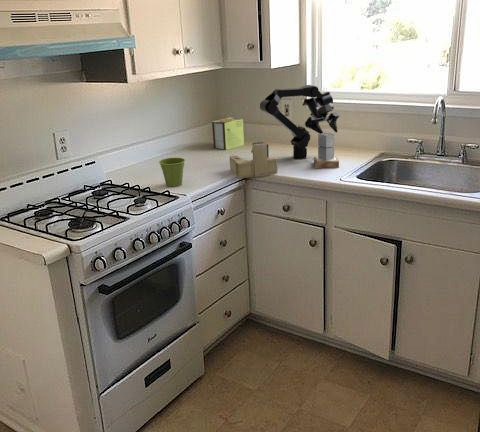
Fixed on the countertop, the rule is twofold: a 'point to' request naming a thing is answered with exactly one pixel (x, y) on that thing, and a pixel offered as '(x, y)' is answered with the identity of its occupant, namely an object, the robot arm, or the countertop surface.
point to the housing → (326, 146)
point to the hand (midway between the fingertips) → (329, 133)
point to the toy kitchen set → (254, 163)
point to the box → (267, 148)
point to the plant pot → (172, 170)
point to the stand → (326, 163)
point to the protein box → (228, 133)
